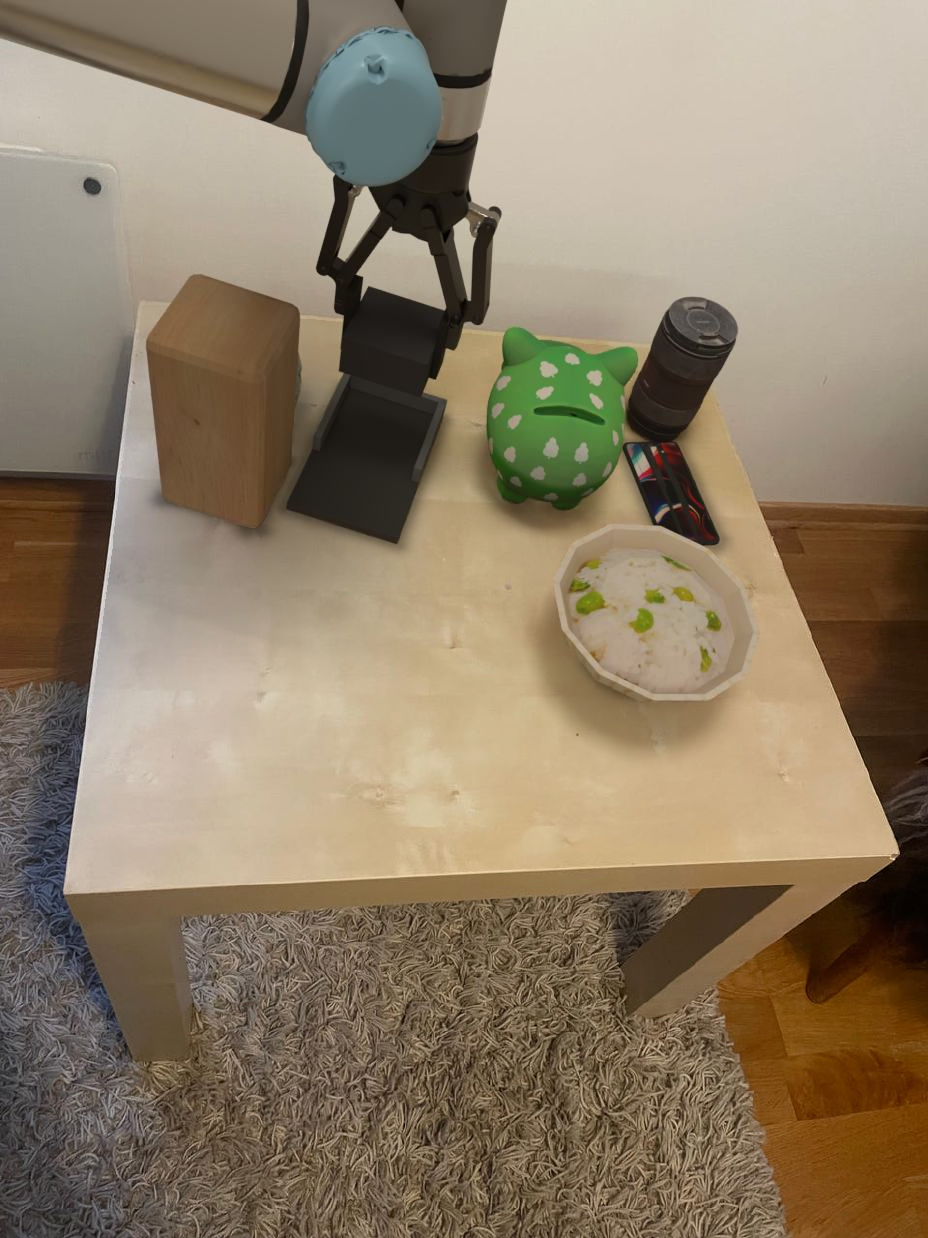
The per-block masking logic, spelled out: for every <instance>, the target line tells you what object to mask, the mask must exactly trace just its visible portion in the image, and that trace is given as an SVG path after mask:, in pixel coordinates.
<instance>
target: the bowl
mask: <svg viewBox="0 0 928 1238" xmlns="http://www.w3.org/2000/svg"><path fill="white" fill-rule="evenodd" d="M552 585H553V586H552V587H553V591H554V596H555V601H556V606H557V611H558V612H557V613H558V617H559V623H560V626H561V627H560V628H561V631H562V634H563V637H564V640H565V644H566V646H568V648H569V649H570V650H571V651H572V653H573V654H574V655H575V656H576V657H577V659H578V660H579V661H580V663H581V664H582V665H583V666H584V667H585V668H586V670H587V671H588V672H589V673H590V675H591V676H592V677H593V678H594V679H595V681H596V682H599V683H600V684H603V685H605V686H607V687H609V688H610V689H612V690H615V691H617V692H619V693H621V694H623V695H625V696H627V697H629V698H631V699H634V700H636V701H637V702H639V703H696V702H708V701H710V700H712V699H714V698H715V697H716V696H718V695H719V694H721V693H723V692H724V691H725V690H727V689H729V688H730V687H732V686H733V685H735V684H736V683H738V682H740V681H741V680H742V679H744V678H746V677H747V676H749V672H750V669H751V665H752V662H753V658H754V655H755V652H756V649H757V646H758V645H757V644H758V642H759V639H760V638H759V637H760V635H761V632H760V631H761V630H760V628H759V625H758V622H757V619H756V616H755V613H754V610H753V606H752V604H751V600H750V598H749V597H750V596H749V595H748V592H747V588H746V586H745V585H744V584H743V583H742V582H741V580H740V579H738V578H737V577H736V575H734V573H732V571H731V570H730V569H729V568H728V567H727V566H726V565H725V564H724V563H723V561H722V560H720V558H719V557H718V556H716V555H715V553H714V552H713V551H712V550H711V549H710V548H708V547H706V546H702V545H700V544H698V543H696V542H694V541H691V540H689V539H687V538H685V537H683V536H681V535H679V534H677V533H674V532H672V531H670V530H668V529H666V528H664V527H662V526H654V525H649V524H648V525H647V524H628V523H627V524H626V523H625V524H624V523H610V524H608V525H605V526H604V527H601V528H599V529H597V530H596V531H593V532H591V533H589V534H587V535H586V536H585V535H584V536H583V537H581V538H579V539H577V540H575V541H573V542H571V543H570V545H569V547H568V549H567V552H566V553H565V555H564V557H563V559H562V561H561V564H560V566H559V567H558V570H557V571H556V573H555V575H554V578H553V580H552Z"/></svg>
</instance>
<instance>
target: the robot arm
mask: <svg viewBox="0 0 928 1238" xmlns="http://www.w3.org/2000/svg"><path fill="white" fill-rule="evenodd" d="M507 4H508V0H0V39H1V40H4V41H8V42H11V43H14V44H18V45H21V46H24V47H26V48H30V49H33V50H35V51H39V52H43V53H46V54H49V55H52V56H55V57H58V58H61V59H64V60H68V61H71V62H75V63H77V64H81V65H84V66H88V67H90V68H94V69H97V70H99V71H103V72H106V73H108V74H112V75H115V76H119V77H122V78H124V79H129V80H132V81H135V82H138V83H141V84H144V85H147V86H151V87H154V88H157V89H160V90H163V91H167V92H168V93H169V92H170V93H172V94H176V95H179V96H182V97H185V98H189V99H192V100H195V101H198V102H201V103H205V104H208V105H211V106H214V107H218V108H221V109H224V110H227V111H230V112H234V113H236V114H239V115H242V116H246V117H249V118H253V119H255V120H258V121H260V122H264V123H267V124H270V125H272V126H275V127H277V128H280V129H283V130H287V131H289V132H292V133H296V134H298V135H301V136H306V138H307V141H308V142H309V143H310V145H311V148H312V150H313V152H314V153H315V154H316V155H317V156H318V157H319V158H320V160H321V161H322V162H323V164H325V166H326V168H328V170H330V171H331V173H333V174H334V175H333V176H332V186H333V187H332V188H333V196H334V200H333V204H332V208H331V212H330V215H329V219H328V222H327V226H326V230H325V233H324V237H323V241H322V242H321V243H322V244H321V246H320V247H321V248H320V250H319V254H318V257H317V261H316V265H315V271H316V273H317V274H318V275H320V276H322V277H327V276H328V278H331V280H333V282H334V284H335V290H334V301H333V310H334V313H335V314H337V315H341V316H342V317H343V320H342V329H341V337H340V338H341V339H340V345H341V344H342V337H343V335H344V333H345V331H346V329H347V327H348V325H349V323H350V321H351V320H352V318H353V316H354V314H355V312H356V310H357V308H358V306H359V304H360V301H361V299H362V292H363V283H364V276H363V275H360V274H358V272H359V271H360V270H361V268H362V267H363V266H364V264H365V263H366V261H367V260H368V259H369V258H370V256H371V254H372V253H373V252H374V250H375V249H376V248H377V246H378V244H380V242H381V240H383V238H384V237H385V236H386V234H388V232H389V230H391V231H392V232H394V233H397V234H403V235H410V236H412V237H414V238H416V239H417V240H420V241H423V242H426V243H427V246H428V250H429V254H430V256H431V257H433V260H434V264H435V268H436V272H437V276H438V280H439V284H440V287H441V293H442V296H443V300H444V303H445V309H444V310H445V311H444V314H443V316H442V318H441V321H440V324H439V329H438V334H437V339H436V343H435V350H434V355H433V360H432V364H431V369H430V374H429V379H431V380H434V381H436V380H437V378H438V376H439V374H440V371H441V368H442V365H443V363H444V360H445V355H446V350H450V351H453V352H455V350H456V349H457V348H458V345H459V343H460V340H461V337H462V332H463V329H464V325H465V324H466V323H471V324H473V325H475V326H481V325H482V324H483V323H484V322H485V319H486V315H487V313H488V310H489V308H490V305H491V304H490V303H491V301H490V300H491V287H492V286H491V285H492V269H493V268H492V267H493V266H492V265H493V249H494V236H495V234H496V231H497V229H498V226H499V225H500V224H499V223H500V221H501V218H502V216H503V214H502V213H503V212H502V210H501V208H500V207H498V206H496V205H493V206H489V208H486V207H483V206H481V205H479V204H477V203H475V202H474V201H472V200H473V199H472V195H471V192H470V180H471V176H472V170H473V166H474V161H475V156H476V152H477V147H478V142H479V132H478V131H479V130H480V129H481V127H482V124H483V123H482V122H483V118H484V113H485V109H486V104H487V100H488V95H489V90H490V86H491V81H492V77H493V68H494V64H495V63H494V62H495V58H496V52H497V48H498V44H499V40H500V35H501V30H502V27H503V26H502V25H503V22H504V16H505V12H506V7H507ZM365 187H367V188H368V191H369V192H370V195H371V196H372V198H373V200H374V203H375V204H376V206H377V209H378V213H377V215H376V216H375V217H374V219H373V220H372V222H371V223H370V224H369V226H368V227H367V229H366V230H365V232H364V233H363V234H362V236H361V238H360V239H359V240H358V242H357V243H356V245H355V246H354V247H353V249H352V251H351V252H350V254H349V255H348V257H346V258H345V260H343V259H342V258H340V257H339V253H340V251H341V247H342V243H343V240H344V237H345V234H346V231H347V227H348V223H349V220H350V217H351V214H352V211H353V207H354V204H355V201H356V199H357V197H359V196H360V195H361V194H362V191H363V190H364V188H365ZM463 219H466V220H467V221H468V223H469V232H470V235H471V237H472V238H474V242H473V246H472V257H471V259H472V260H471V263H472V264H471V281H470V282H471V285H470V300H469V298H468V294H467V290H466V286H465V281H464V276H463V273H462V269H461V264H460V260H459V255H458V250H457V247H456V242H455V228H454V226H456V225H457V224H458V223H460V222H461V221H462V220H463ZM340 350H341V346H340Z"/></svg>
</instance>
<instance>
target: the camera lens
mask: <svg viewBox="0 0 928 1238" xmlns="http://www.w3.org/2000/svg"><path fill="white" fill-rule="evenodd" d="M738 333H739V325H738V323H737V320H736V319H735V316H734V315H733V314H732V313H731V312H730V311H729V309H727V308H726V307H725V306H723V305H722V304H719V303H718V302H716V301H714V300H711V299H708V298H705V297H702V296H685V297H684V296H683V297H681V298H678V299H675V300H674V301H673V302H672V303H671V304H670V306H669V307H668V309H667V310H666V311H665V312H664V314H663V316H662V318H661V321H660V323H659V325H658V327H657V329H656V331H655V335H654V336H653V338H652V342H651V345H650V349H649V352H648V354H647V356H646V359H645V361H644V362H643V365H642V366H641V369H640V371H639V372H638V375H637V376H636V378H635V380H634V383H633V385H632V388H631V391H630V394H629V398H628V401H627V406H628V408H627V411H626V419H627V423H628V424H629V426H630V427H631V428H632V430H633V431H634V432H635V433H637V435H639V437H640V436H641V437H642V438H643V439H646V440H648V441H650V442H651V441H658V442H667V441H673V442H674V440H677V438H678V437H679V436H680V434H681V433H682V432H684V431H686V430H687V429H688V427H689V426H690V424H691V422H692V421H693V420H694V419H695V417H696V416H697V414H698V412H699V410H700V408H701V407H702V405H703V402H704V401H705V398H706V396H707V395H708V392H709V390H710V389H711V387H712V385H713V383H714V381H715V379H716V378H717V377H718V376H719V375H720V372H721V371H722V369H723V367H724V366H725V364H726V362H727V360H728V358H729V356H730V355H731V353H732V351H733V349H734V347H735V346H736V342H737V337H738Z"/></svg>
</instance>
